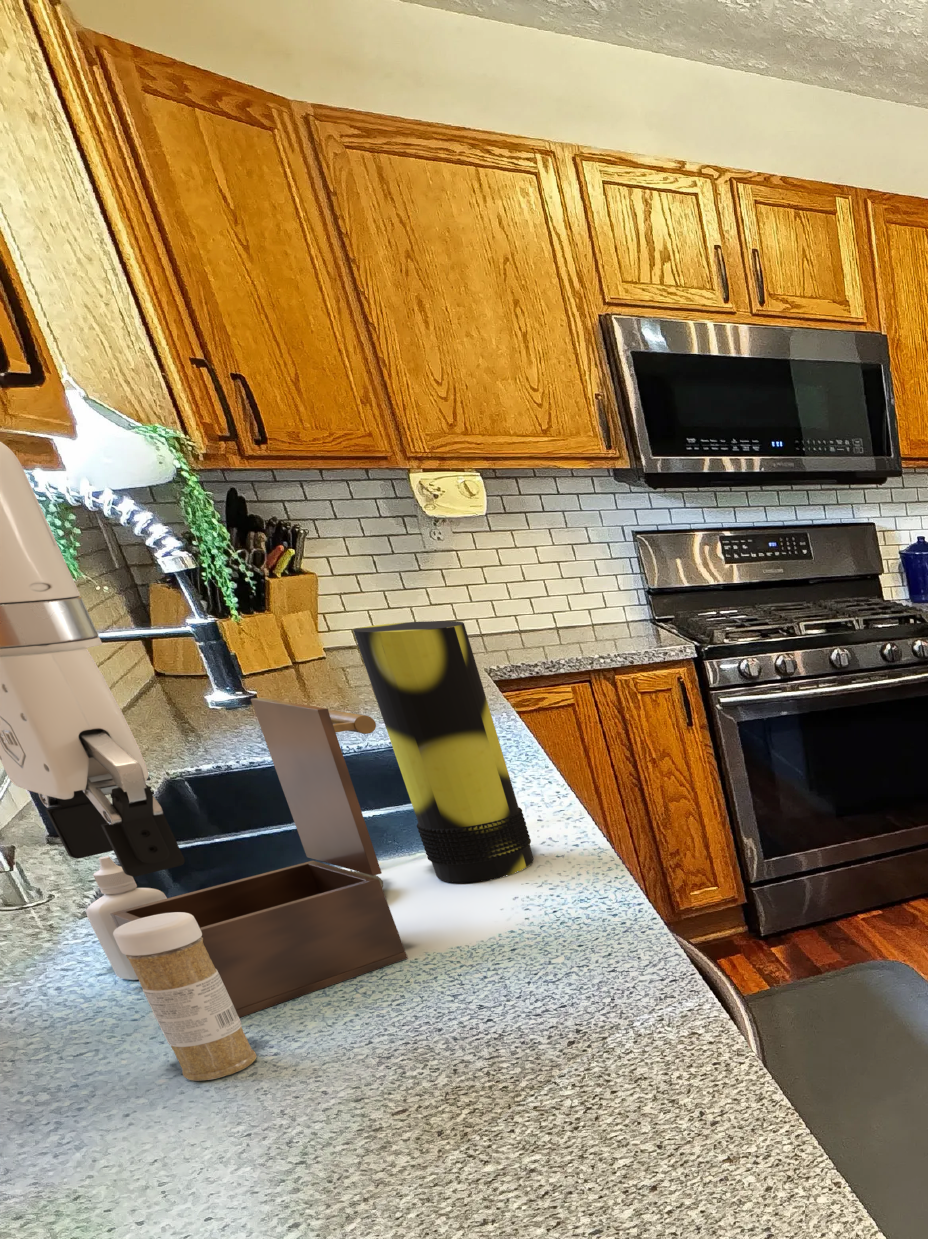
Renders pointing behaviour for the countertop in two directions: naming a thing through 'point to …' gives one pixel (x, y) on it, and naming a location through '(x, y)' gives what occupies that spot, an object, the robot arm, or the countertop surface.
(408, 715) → the container
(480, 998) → the countertop surface
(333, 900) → the walnut box
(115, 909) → the eye dropper bottle
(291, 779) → the walnut panel
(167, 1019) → the spice jar
